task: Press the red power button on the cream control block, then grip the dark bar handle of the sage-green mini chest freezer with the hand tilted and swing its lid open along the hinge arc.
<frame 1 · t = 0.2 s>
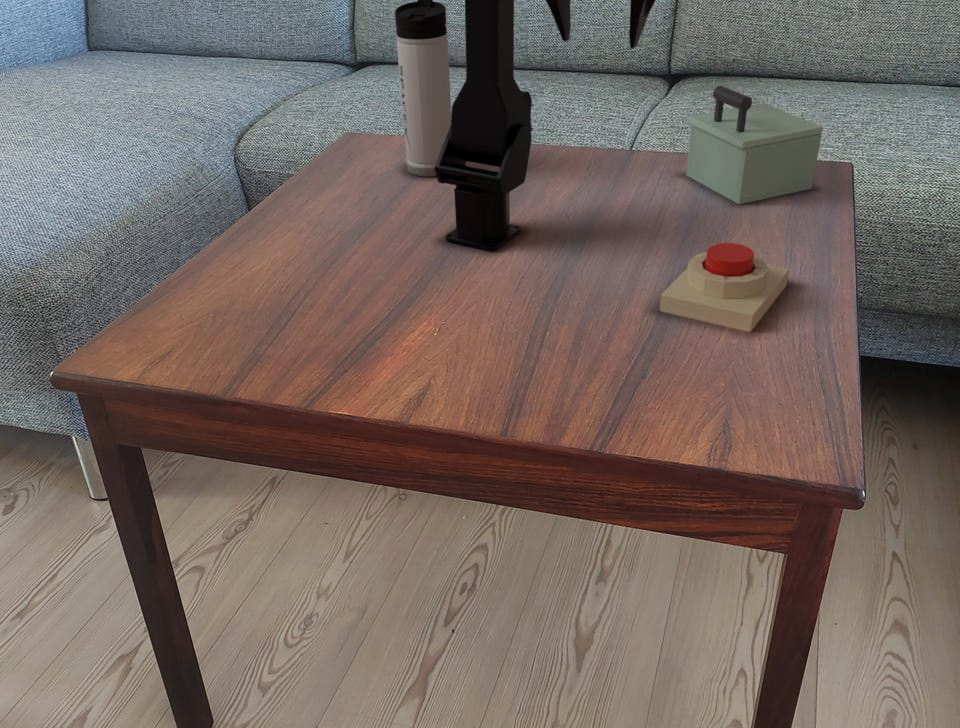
hand: (599, 43, 115), 15 cm above the table, tool pointing down, fingers open, 9 cm apart
power button: (729, 260, 89), point 4 cm above the table, slide at 0.1 cm
freezer: (747, 182, 116), on the table
travel mug: (431, 170, 124), on the table
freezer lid: (756, 107, 111), point 9 cm above the table, hinge at 0.0°
control block: (724, 298, 91), on the table
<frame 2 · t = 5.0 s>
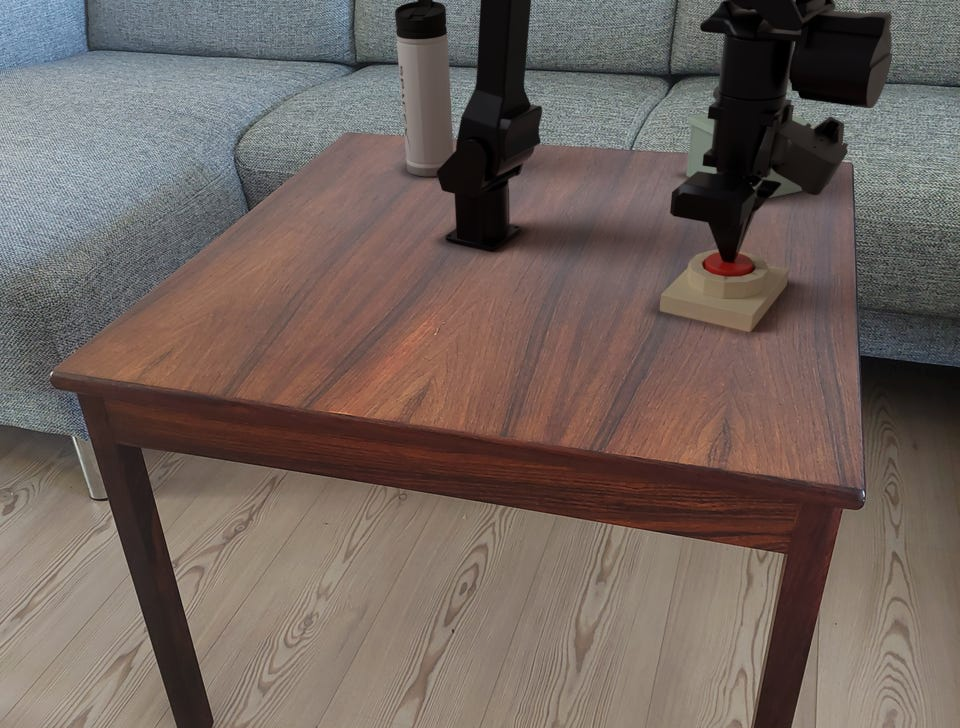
hand: (728, 260, 89), 4 cm above the table, tool pointing down, fingers closed, pressing on power button
power button: (728, 269, 90), point 3 cm above the table, slide at -0.8 cm, touching gripper
everything else where it was.
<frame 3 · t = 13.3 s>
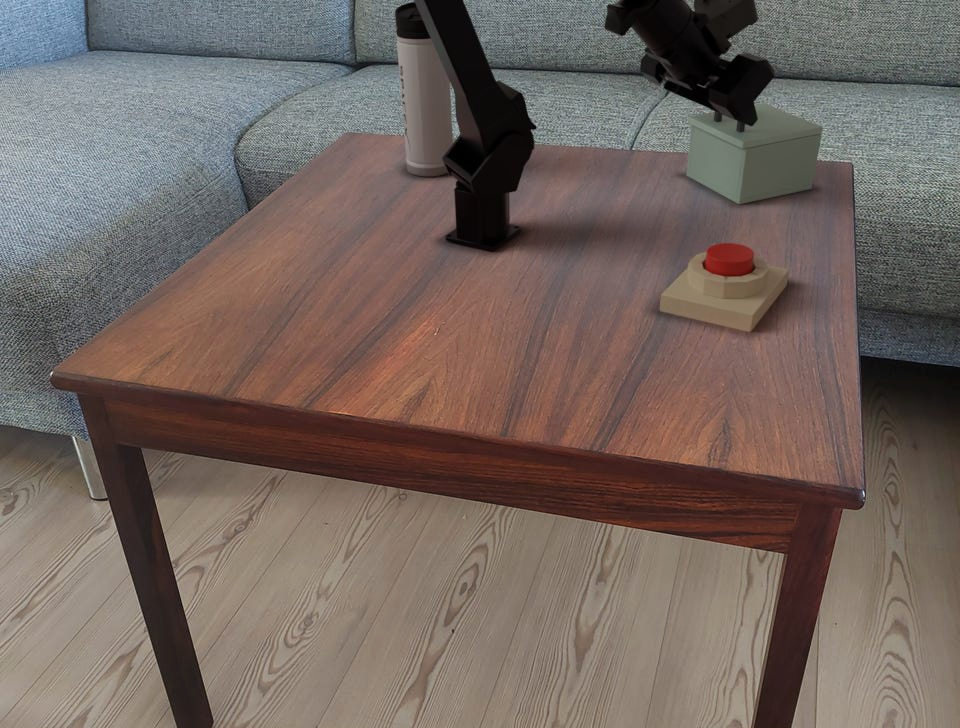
hand: (739, 116, 110), 8 cm above the table, tool tilted 45°, fingers closed on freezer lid, 5 cm apart
power button: (729, 260, 89), point 4 cm above the table, slide at 0.1 cm
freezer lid: (756, 107, 111), point 9 cm above the table, hinge at 0.0°, touching gripper
everything else where it was.
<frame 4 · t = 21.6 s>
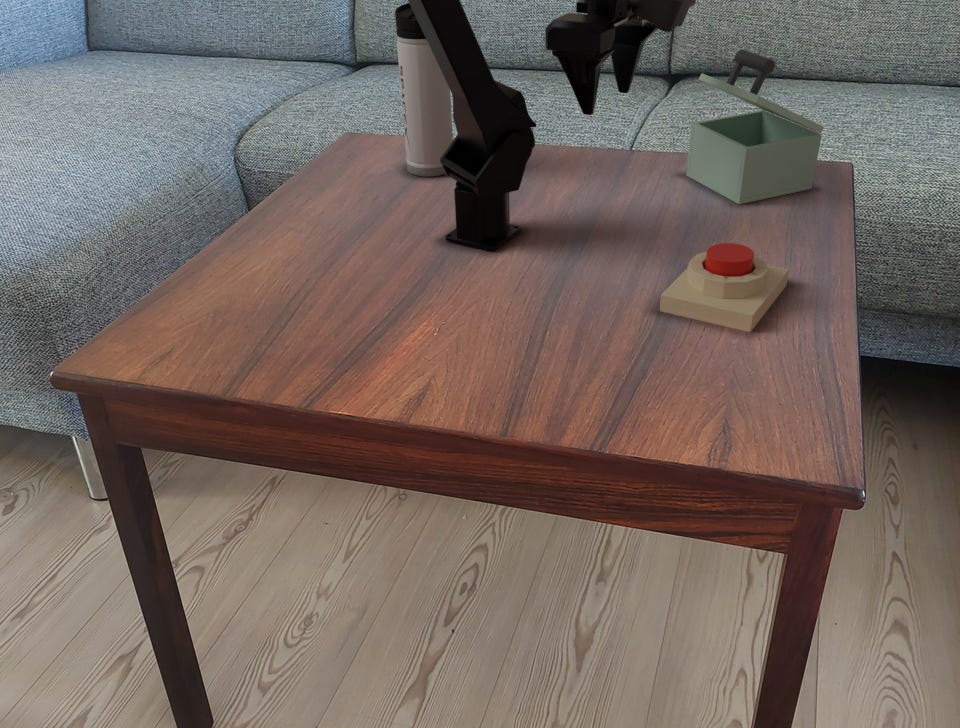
hand: (606, 103, 104), 12 cm above the table, tool pointing down, fingers open, 9 cm apart
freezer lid: (769, 86, 110), point 11 cm above the table, hinge at 25.8°
everything else where it was.
at the end: power button pushed in 1.0 cm at the most during the clip, back to where it started at the end; power button slide at 0.1 cm; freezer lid at +26° (first picture: +0°) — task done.
